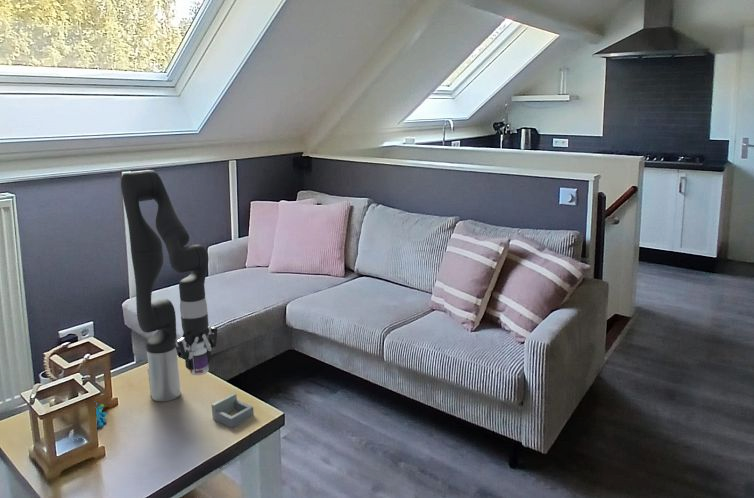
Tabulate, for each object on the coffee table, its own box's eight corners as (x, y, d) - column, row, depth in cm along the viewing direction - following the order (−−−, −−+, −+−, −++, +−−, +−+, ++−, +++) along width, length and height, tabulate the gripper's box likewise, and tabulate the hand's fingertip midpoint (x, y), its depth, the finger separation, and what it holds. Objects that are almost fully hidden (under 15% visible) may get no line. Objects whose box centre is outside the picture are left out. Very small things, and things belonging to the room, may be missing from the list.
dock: (212, 418, 192) (211, 404, 191) (234, 406, 199) (233, 392, 198) (231, 427, 187) (230, 413, 186) (253, 415, 194) (252, 401, 192)
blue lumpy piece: (92, 431, 183) (71, 405, 183) (81, 443, 184) (59, 417, 185) (116, 416, 193) (95, 392, 194) (104, 428, 195) (84, 404, 195)
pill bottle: (212, 369, 186) (209, 339, 184) (201, 377, 181) (199, 346, 179) (197, 366, 188) (194, 337, 185) (186, 374, 183) (183, 344, 180)
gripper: (206, 303, 187) (210, 354, 192) (165, 317, 176) (170, 371, 181) (222, 308, 183) (226, 360, 187) (180, 323, 172) (186, 378, 176)
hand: (198, 365), depth 184 cm, fingers closed on pill bottle, 5 cm apart
